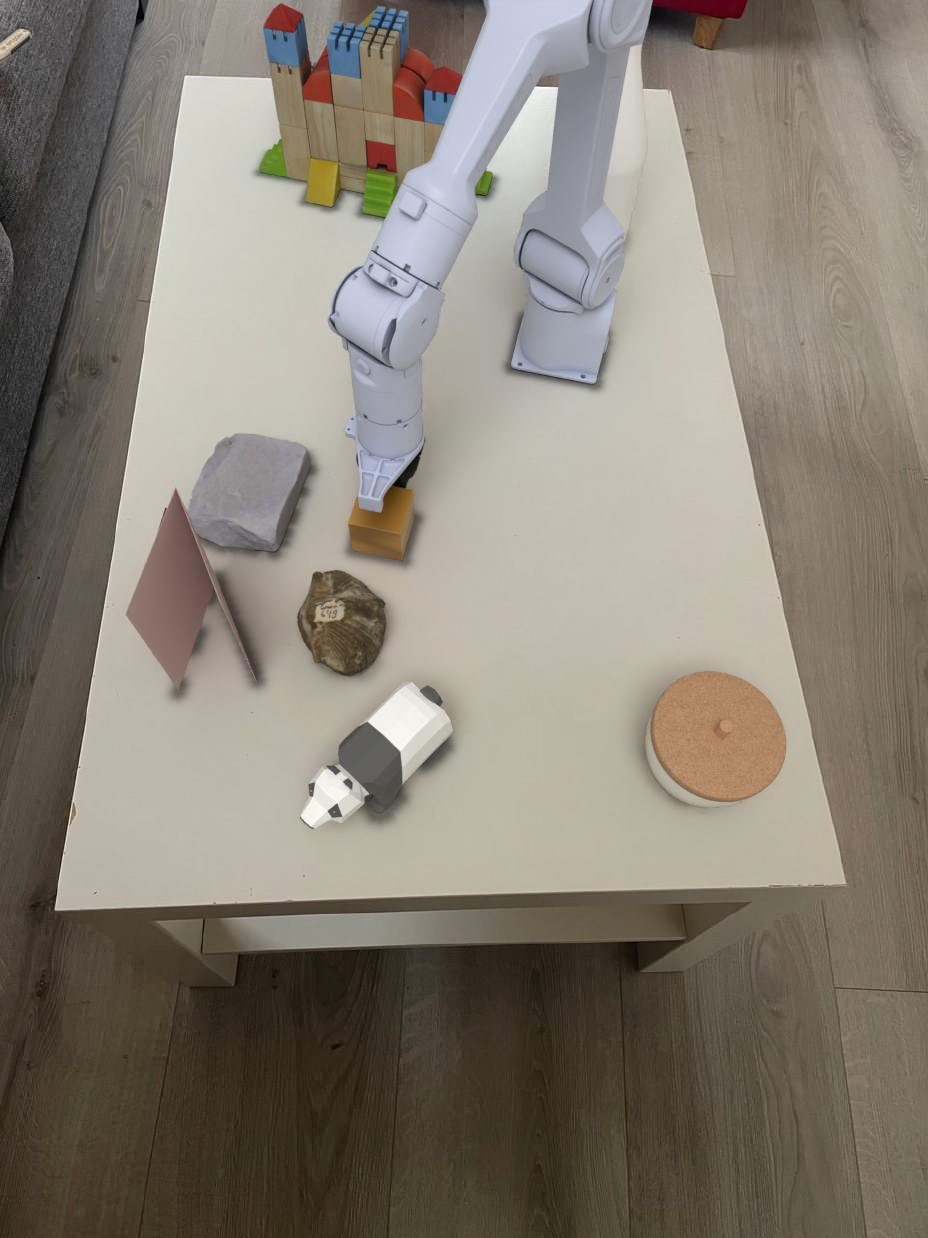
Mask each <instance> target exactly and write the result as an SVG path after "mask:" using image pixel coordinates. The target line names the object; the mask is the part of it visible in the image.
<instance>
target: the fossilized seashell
mask: <svg viewBox="0 0 928 1238" xmlns="http://www.w3.org/2000/svg"><path fill="white" fill-rule="evenodd" d="M385 606H386V602H385V600H384V599H382V598H381V597H379V596H377V595H376V594H375V593H374V592H373V591H372V590H371V589H370V588H369V587H368V585H366V584H365V583H364V582H363V581H362V580H360V579H358V578H357V577H355V576H352V574H350V573H348V572H346V571H343V570H339V569H333V570H328V571H324V572H321V571H315V572H313V573H312V575H311V582H310V587H309V589H308V593H307V595H306V597H305V599H304V601H303V603H302V605H301V607H300V608H299V610H298V612H297V616H296V618H297V626H298V630H299V632H300V635H301V638H302V641H303V643H304V644H305V647H307V649H308V650H309V651H310V653H312V657H313V658H312V659H313V661H314V663H315V664H321V665H324V666H325V667H327V668H329V669H331V670H332V672H334V673H336V674H338V675H341V676H343V677H353V676H355V675H357V674H360V673H363V672H364V671H366V670H367V669H368V668H369V667H370V666H371V665H372V664H373V663H374V662H375V660H376V658H377V657H378V655H379V653H380V650H381V648H382V646H383V645H384V644H383V643H384V638H385V637H384V636H385V633H386V629H387V627H386V626H387V618H386V613H385Z"/></svg>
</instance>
